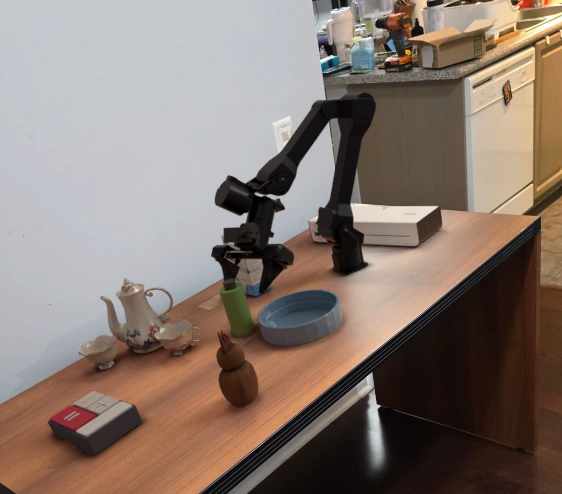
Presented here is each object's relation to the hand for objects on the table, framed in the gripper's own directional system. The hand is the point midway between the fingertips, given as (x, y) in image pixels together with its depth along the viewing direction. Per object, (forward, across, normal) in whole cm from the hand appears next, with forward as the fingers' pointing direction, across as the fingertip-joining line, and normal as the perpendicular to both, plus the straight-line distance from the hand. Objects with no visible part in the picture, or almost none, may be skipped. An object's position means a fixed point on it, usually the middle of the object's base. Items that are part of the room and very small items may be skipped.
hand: (243, 293), depth 139 cm
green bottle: (+8, 0, +3) cm, 8 cm away
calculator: (+34, -7, -24) cm, 42 cm away
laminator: (-29, +6, +40) cm, 49 cm away
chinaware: (+16, -19, -5) cm, 25 cm away
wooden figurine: (+24, +17, -13) cm, 32 cm away
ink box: (-6, -12, +17) cm, 21 cm away
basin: (+5, +13, +6) cm, 15 cm away
